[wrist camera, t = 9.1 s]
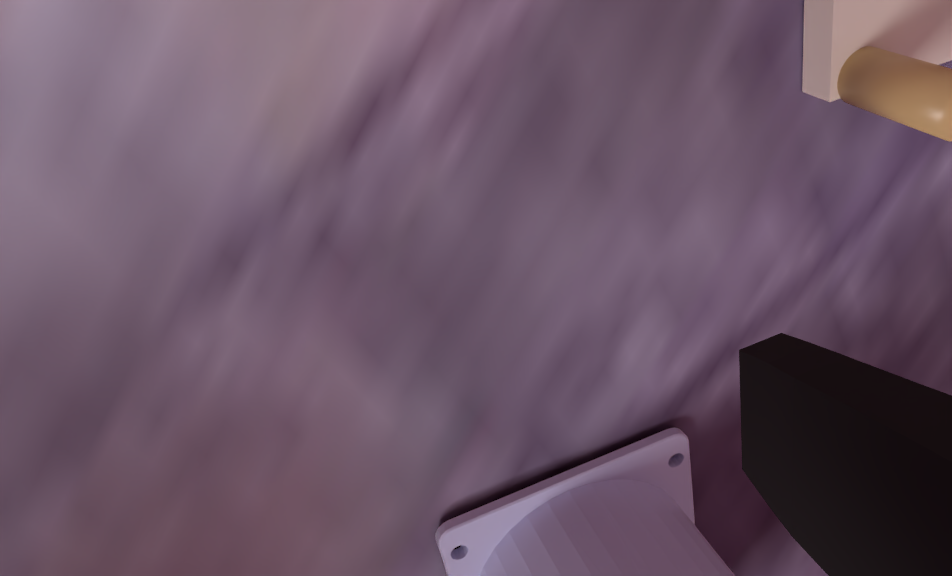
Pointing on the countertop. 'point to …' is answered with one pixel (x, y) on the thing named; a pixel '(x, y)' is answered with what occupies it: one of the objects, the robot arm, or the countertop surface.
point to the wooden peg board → (882, 58)
